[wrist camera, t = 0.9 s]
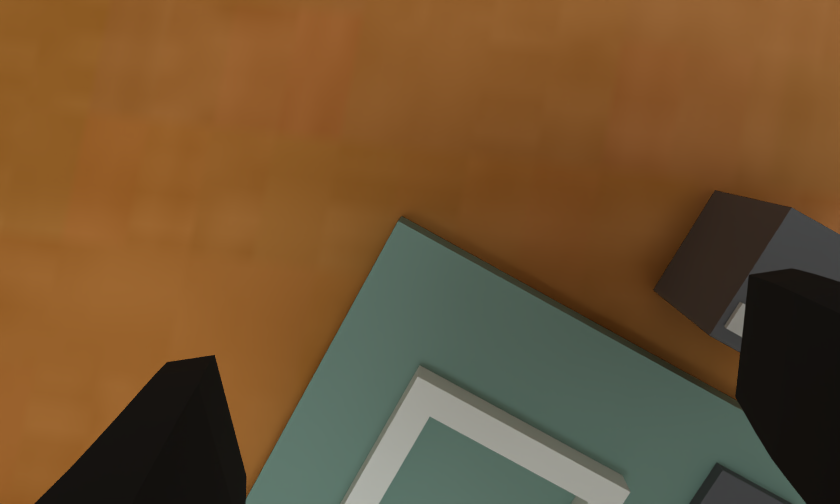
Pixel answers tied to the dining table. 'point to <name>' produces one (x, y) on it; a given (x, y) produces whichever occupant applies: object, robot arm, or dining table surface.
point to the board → (502, 403)
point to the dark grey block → (741, 259)
